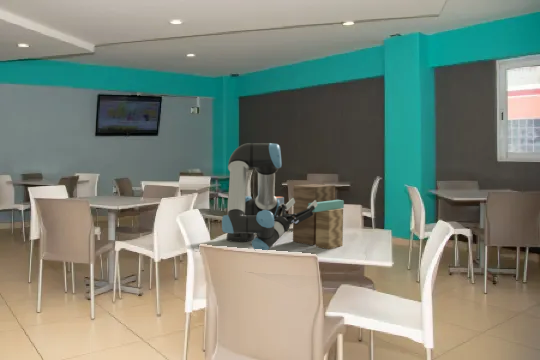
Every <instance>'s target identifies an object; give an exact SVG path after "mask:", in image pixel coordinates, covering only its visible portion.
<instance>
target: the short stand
mask: <svg viewBox="0 0 540 360" xmlns="http://www.w3.org/2000/svg"><path fill="white" fill-rule="evenodd" d="M343 227H344V208H341V209H334V210H327V211H320V212H316V245H315V247H316V248H321V249H325V248H326V250H330V248H331V249H335V248H338V247H343V241H344V240H343V236H344V235H343V234H344V231H343V230H344V229H343Z"/></svg>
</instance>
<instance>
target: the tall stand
mask: <svg viewBox="0 0 540 360" xmlns="http://www.w3.org/2000/svg"><path fill="white" fill-rule="evenodd" d="M292 189H293V194H292V195H293V197H292V198H294V200H295V203H294V204H293V205H292V208H293V209H292V211H293V212H292V214H293V213H295V214H296V213H299V212H301V211H304V210H306V209H307V207H308V203H312V202H313V201H314V200H316V202H323V201H332V200H336V185H333V184H332V185H331V184H320V183H317V184H316V183H310V184H297V185H296V184H295V185H293V188H292ZM293 217H294V219H295V216H293ZM292 243H299V244H303V245H311V246H316V212H313V215H312V216H311V217H309V218H307V219H305V220H303V221H301V222H300V223H299V224H297V225H295V223H292Z"/></svg>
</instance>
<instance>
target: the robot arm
mask: <svg viewBox="0 0 540 360" xmlns="http://www.w3.org/2000/svg"><path fill="white" fill-rule="evenodd" d="M282 164H283V163H282V152H281V145H279V144H278V143H273V142H272V143H271V142H269V143H267V142H266V143H264V142H261V143H251V142H249V143H248V142H247V143H244V144H241V145H240V146H238V147H237V148H235V150H234V151H233V152H232V153H231V155H230V157H229V159H228V164H227V169H228V171H229V181H228V182H229V183H228V186H229V187H228V200H227V213H226V215H225V214H224V215H222V217H221V230H222V232H223V233H226V241H229V242H234V243H235V242H236V243H237V242H240V243H241V242H242V243H244V242H246V243H247V242H251V246H252V248H253V249H254V250H255V249H262V250H267V251H268V250H270V249H271V248H272V247H273V245H274V244H275V243H276V242H277V241H278V240H279V239H280V238H281V237H282V236H283V235H284V234H285V233H286V232H287V231H288V230H290V227H291V225H293V223H295V225H297V224H299V223H300V222H301V221H303V220H305V219H307V218H309V217H311V216H312V215H313V212H312V211H313V210H314V209H315V207H316V206H317V202H316V200H314V201H313V202H312V203H311V204H310V205H309V206H308V207H307V209H306V210H304V211H301V212H299V213H296V214H295V213H293V212H292V213H287V211H288V210H289V209H290V208H292V207H293V204H294V203H295V200H294V198H293V197H292V198H291V199H289V201H288V202H286V203H284V204H282V205H281V206H282V207H281V206H280V202H279V200H278V199H276V197H277V196H275V190H276V189H275V188H276V187H275V185H276V184H275V183H276V173H277V172H278V170H279V169H281V168H282ZM250 168H251V169H252V168H253V169H255V171H256V173H257V195H256V198H252V196H251V195H248V196H247V195H246V194H247V193H246V192H247V173H248V172H249V169H250ZM281 213H282V216H280V215H281ZM293 216H295V219H294V217H293ZM255 234H256V236H255Z"/></svg>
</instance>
